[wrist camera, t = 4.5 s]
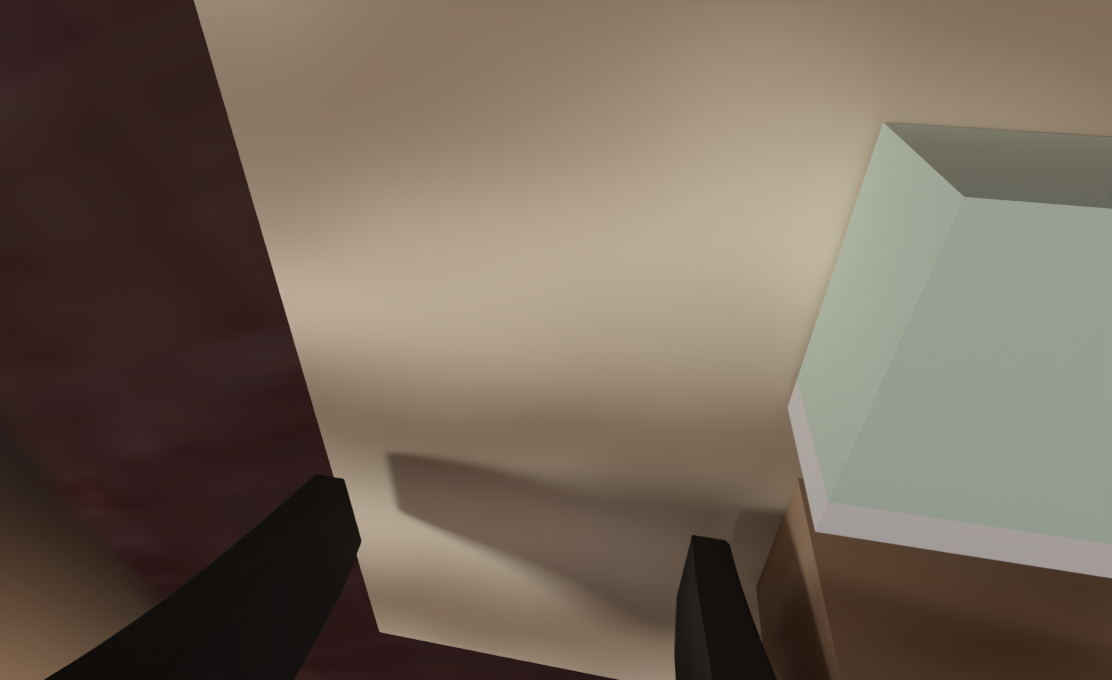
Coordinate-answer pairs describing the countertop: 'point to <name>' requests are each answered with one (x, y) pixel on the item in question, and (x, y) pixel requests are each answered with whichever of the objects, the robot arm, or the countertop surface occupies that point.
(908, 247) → the block
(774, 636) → the block
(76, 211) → the countertop surface
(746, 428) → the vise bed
